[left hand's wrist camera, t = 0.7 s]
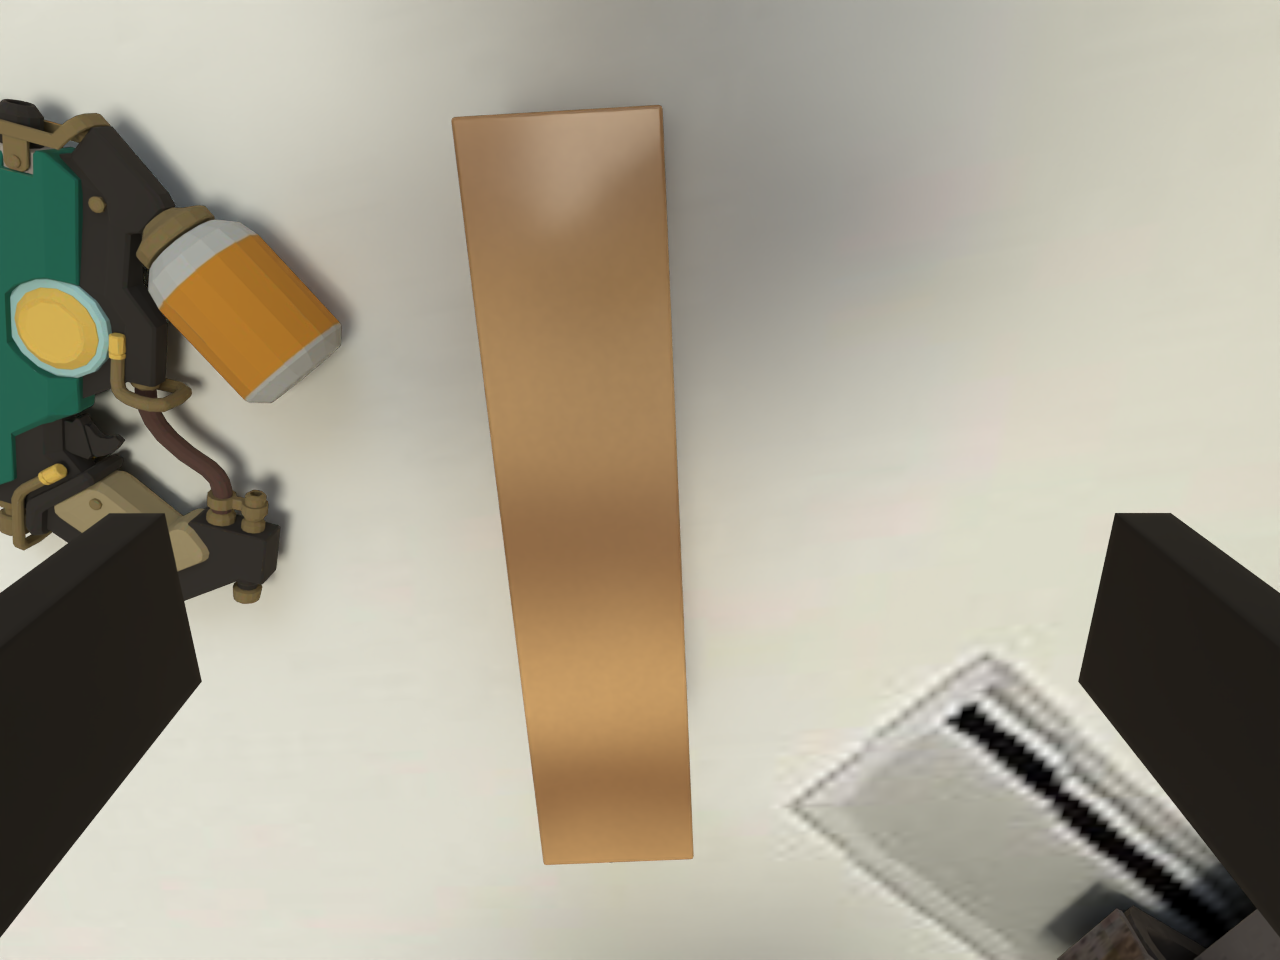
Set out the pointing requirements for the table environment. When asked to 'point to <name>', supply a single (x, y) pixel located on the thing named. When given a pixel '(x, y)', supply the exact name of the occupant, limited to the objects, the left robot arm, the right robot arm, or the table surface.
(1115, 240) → the table surface
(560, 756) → the bar
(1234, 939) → the toy
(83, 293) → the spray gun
